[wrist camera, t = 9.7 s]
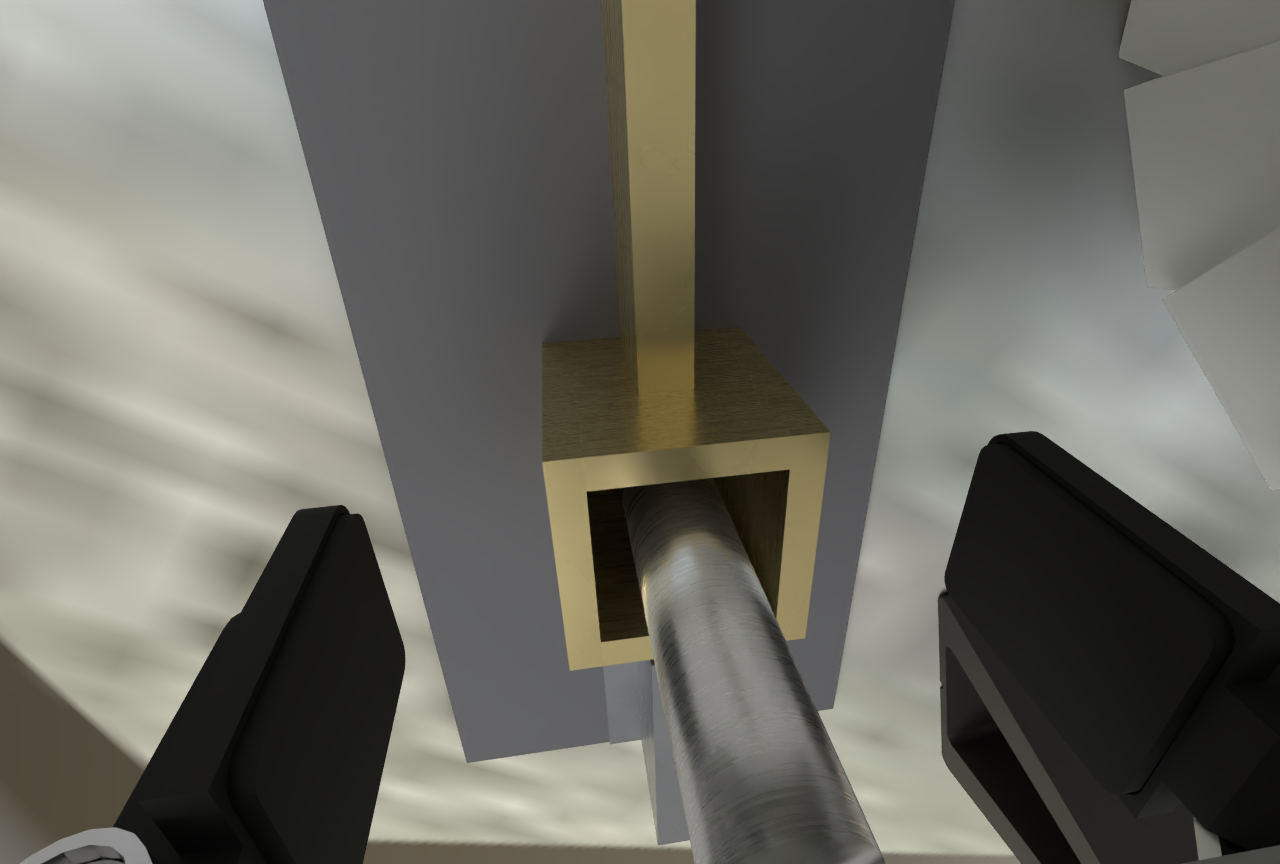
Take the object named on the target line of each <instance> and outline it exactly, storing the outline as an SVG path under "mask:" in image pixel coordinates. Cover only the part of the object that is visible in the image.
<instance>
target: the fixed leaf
mask: <svg viewBox="0 0 1280 864" xmlns="http://www.w3.org/2000/svg"><path fill="white" fill-rule="evenodd" d="M620 492H621V497H622V502H623V507H624V512H625V517H626V522H627V527H628V532H629V537H630V542H631V547H632V552H633V557H634V562H635V567H636V572H637V577H638V582H639V587H640V592H641V597H642V602H643V607H644V612H645V617H646V622H647V627H648V632H649V637H650V642H651V647H652V652H653V657H654V659H651V660H644V661H637V662H630V663H623V664H615V665H608V666H603V673H604V684H605V695H606V706H607V717H608V728H609V739H610V744H615V743H622V742H628V741H635V740H642V746H643V752H644V759H645V765H646V772H647V778H648V785H649V791H650V797H651V804H652V810H653V817H654V823H655V829H656V836H657V842H658V845H663V844H669V843H675V842H681V841H687V840H690V843H691V848H692V853H693V857H694V862H695V864H885V861H884V858H883V856H882V854H881V851H880V849H879V847H878V845H877V843H876V840H875V838H874V836H873V834H872V831H871V829H870V827H869V825H868V823H867V820H866V818H865V816H864V814H863V811H862V809H861V807H860V805H859V802H858V800H857V798H856V796H855V794H854V791H853V789H852V787H851V785H850V782H849V780H848V778H847V776H846V773H845V771H844V769H843V767H842V765H841V762H840V760H839V758H838V756H837V753H836V751H835V749H834V747H833V744H832V742H831V740H830V738H829V736H828V733H827V731H826V729H825V727H824V724H823V722H822V720H821V718H820V716H819V713H818V711H817V709H816V707H815V704H814V702H813V700H812V698H811V695H810V693H809V691H808V689H807V687H806V684H805V682H804V680H803V678H802V675H801V673H800V671H799V669H798V666H797V664H796V662H795V660H794V658H793V655H792V653H791V651H790V649H789V646H788V644H787V642H786V640H785V637H784V635H783V633H782V631H781V629H780V626H779V624H778V622H777V620H776V617H775V615H774V613H773V611H772V609H771V606H770V604H769V602H768V600H767V597H766V595H765V593H764V591H763V588H762V586H761V584H760V582H759V580H758V577H757V575H756V573H755V571H754V568H753V566H752V564H751V562H750V559H749V557H748V555H747V553H746V551H745V548H744V546H743V544H742V542H741V539H740V537H739V535H738V533H737V530H736V528H735V526H734V524H733V522H732V519H731V517H730V515H729V513H728V510H727V508H726V506H725V504H724V502H723V499H722V497H721V495H720V493H719V490H718V488H717V486H716V484H715V481H714V479H713V478H706V479H697V480H688V481H679V482H670V483H661V484H651V485H642V486H633V487H624V488H620Z"/></svg>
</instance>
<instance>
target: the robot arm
mask: <svg viewBox="0 0 1280 864" xmlns="http://www.w3.org/2000/svg"><path fill="white" fill-rule="evenodd" d="M945 585H946V588H947V591H948V593H949V595H950V596H951V598H952V599H953V600H954V602H955V603H956V604H957V605H958V607H959V608H960V609H961V611H962V612H963V613H964V614H965V616H966V617H967V618H968V619H969V621H970V622H971V623H972V624H973V626H974V627H975V628H976V629H977V631H978V632H979V633H980V634H981V636H982V637H983V638H984V640H985V641H986V642H987V643H988V645H989V646H990V647H991V648H992V650H993V651H994V652H995V653H996V655H997V656H998V657H999V658H1000V660H1001V661H1002V662H1003V663H1004V665H1005V666H1006V667H1007V669H1008V670H1009V671H1010V672H1011V674H1012V675H1013V676H1014V677H1015V679H1016V680H1017V681H1018V682H1019V684H1020V685H1021V686H1022V687H1023V689H1024V690H1025V691H1026V692H1027V694H1028V695H1029V696H1030V698H1031V699H1032V700H1033V701H1034V703H1035V704H1036V705H1037V706H1038V708H1039V709H1040V710H1041V711H1042V713H1043V714H1044V715H1045V716H1046V718H1047V719H1048V720H1049V721H1050V723H1051V724H1052V725H1053V727H1054V728H1055V729H1056V730H1057V732H1058V733H1059V734H1060V735H1061V737H1062V738H1063V739H1064V740H1065V742H1066V743H1067V744H1068V745H1069V747H1070V748H1071V749H1072V750H1073V752H1074V753H1075V754H1076V756H1077V757H1078V758H1079V759H1080V761H1081V762H1082V763H1083V764H1084V766H1085V767H1086V768H1087V769H1088V771H1089V772H1090V773H1091V774H1092V776H1093V777H1094V778H1095V779H1096V781H1097V782H1098V783H1099V784H1100V785H1101V786H1102V787H1103V788H1104V789H1106V790H1107V791H1108V792H1110V793H1113V794H1115V795H1117V796H1118V797H1119V799H1120V800H1121V801H1122V802H1123V804H1124V805H1125V806H1126V807H1127V809H1128V810H1129V811H1130V812H1131V814H1132V815H1133V816H1134V817H1135V819H1138V818H1143V817H1149V816H1154V815H1160V814H1165V813H1170V812H1173V811H1174V810H1175V809H1176V807H1177V806H1178V804H1179V803H1180V802H1182V803H1183V804H1184V806H1185V807H1186V808H1187V809H1188V810H1189V811H1190V812H1191V813H1192V815H1193V816H1194V819H1193V820H1194V828H1195V835H1196V843H1197V851H1198V858H1199V860H1198V861H1193V862H1188V863H1183V864H1280V604H1279V603H1278V602H1277V601H1275V600H1274V599H1272V598H1271V597H1270V596H1268V595H1267V594H1265V593H1264V592H1263V591H1261V590H1260V589H1258V588H1257V587H1256V586H1254V585H1253V584H1251V583H1250V582H1249V581H1247V580H1246V579H1244V578H1243V577H1242V576H1240V575H1239V574H1237V573H1236V572H1235V571H1233V570H1232V569H1230V568H1229V567H1228V566H1226V565H1225V564H1223V563H1222V562H1221V561H1219V560H1218V559H1216V558H1215V557H1214V556H1212V555H1211V554H1209V553H1208V552H1207V551H1205V550H1204V549H1202V548H1201V547H1200V546H1198V545H1197V544H1195V543H1194V542H1193V541H1191V540H1190V539H1188V538H1187V537H1186V536H1184V535H1183V534H1181V533H1180V532H1179V531H1177V530H1176V529H1174V528H1173V527H1172V526H1170V525H1169V524H1167V523H1166V522H1165V521H1163V520H1162V519H1160V518H1159V517H1158V516H1156V515H1155V514H1153V513H1152V512H1150V511H1149V510H1148V509H1146V508H1145V507H1143V506H1142V505H1141V504H1139V503H1138V502H1136V501H1135V500H1134V499H1132V498H1131V497H1129V496H1128V495H1127V494H1125V493H1124V492H1122V491H1121V490H1120V489H1118V488H1117V487H1115V486H1114V485H1113V484H1111V483H1110V482H1108V481H1107V480H1106V479H1104V478H1103V477H1101V476H1100V475H1099V474H1097V473H1096V472H1094V471H1093V470H1092V469H1090V468H1089V467H1087V466H1086V465H1085V464H1083V463H1082V462H1080V461H1079V460H1078V459H1076V458H1075V457H1073V456H1072V455H1071V454H1069V453H1068V452H1066V451H1065V450H1064V449H1062V448H1061V447H1059V446H1058V445H1057V444H1055V443H1054V442H1052V441H1051V440H1050V439H1048V438H1047V437H1045V436H1044V435H1042V434H1040V433H1038V432H1034V431H1028V432H1019V433H1009V434H1000V435H997V436H994V437H993V438H992V439H991V440H990V441H989V443H988V445H987V446H984V447H983V448H982V449H981V451H980V453H979V456H978V460H977V463H976V467H975V470H974V474H973V477H972V481H971V484H970V488H969V491H968V495H967V498H966V502H965V505H964V509H963V512H962V516H961V519H960V523H959V526H958V529H957V533H956V536H955V540H954V543H953V547H952V550H951V554H950V557H949V561H948V564H947V568H946V571H945ZM404 670H405V649H404V645H403V641H402V638H401V635H400V632H399V629H398V626H397V622H396V619H395V616H394V613H393V610H392V607H391V604H390V600H389V597H388V594H387V591H386V588H385V585H384V582H383V578H382V575H381V572H380V569H379V566H378V563H377V560H376V556H375V553H374V550H373V547H372V544H371V541H370V538H369V534H368V531H367V528H366V525H365V522H364V520H363V517H362V516H361V515H360V514H350V513H349V511H348V510H347V508H346V507H345V506H343V505H337V506H328V507H319V508H309V509H301V510H298V511H297V512H296V513H295V514H294V516H293V518H292V519H291V521H290V523H289V525H288V527H287V529H286V530H285V532H284V534H283V536H282V538H281V540H280V541H279V543H278V545H277V547H276V549H275V551H274V553H273V554H272V556H271V558H270V560H269V562H268V564H267V565H266V567H265V569H264V571H263V573H262V575H261V576H260V578H259V580H258V582H257V584H256V586H255V588H254V589H253V591H252V593H251V595H250V597H249V599H248V600H247V602H246V604H245V606H244V608H243V610H242V611H241V613H239V614H237V615H236V616H234V617H233V618H231V620H230V621H229V622H228V624H227V625H226V626H225V628H224V629H223V631H222V633H221V635H220V636H219V638H218V640H217V642H216V643H215V645H214V647H213V649H212V651H211V652H210V654H209V656H208V658H207V660H206V661H205V663H204V665H203V667H202V669H201V670H200V672H199V674H198V676H197V677H196V679H195V681H194V683H193V685H192V686H191V688H190V690H189V692H188V694H187V695H186V697H185V699H184V701H183V703H182V704H181V706H180V708H179V710H178V712H177V713H176V715H175V717H174V719H173V720H172V722H171V724H170V726H169V728H168V729H167V731H166V733H165V735H164V737H163V738H162V740H161V742H160V744H159V746H158V747H157V749H156V751H155V753H154V755H153V756H152V758H151V760H150V762H149V763H148V765H147V767H146V769H145V771H144V773H143V774H142V776H141V778H140V780H139V781H138V783H137V785H136V787H135V789H134V790H133V792H132V794H131V796H130V798H129V799H128V801H127V803H126V805H125V807H124V808H123V810H122V812H121V814H120V816H119V817H118V819H117V821H116V823H115V824H114V826H113V828H102V829H90V830H87V831H84V832H81V833H78V834H76V835H72V836H69V837H66V838H64V839H61V840H59V841H57V842H55V843H53V844H52V845H50V846H48V847H46V848H44V849H43V850H41V851H39V852H37V853H35V854H33V855H31V856H30V857H28V858H27V859H26V860H24V861H23V862H22V863H20V864H363V860H364V855H365V851H366V846H367V841H368V837H369V832H370V828H371V823H372V818H373V814H374V809H375V805H376V800H377V795H378V791H379V786H380V781H381V777H382V772H383V768H384V763H385V758H386V754H387V749H388V745H389V740H390V735H391V731H392V726H393V722H394V717H395V712H396V708H397V703H398V699H399V694H400V689H401V685H402V680H403V675H404Z"/></svg>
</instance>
